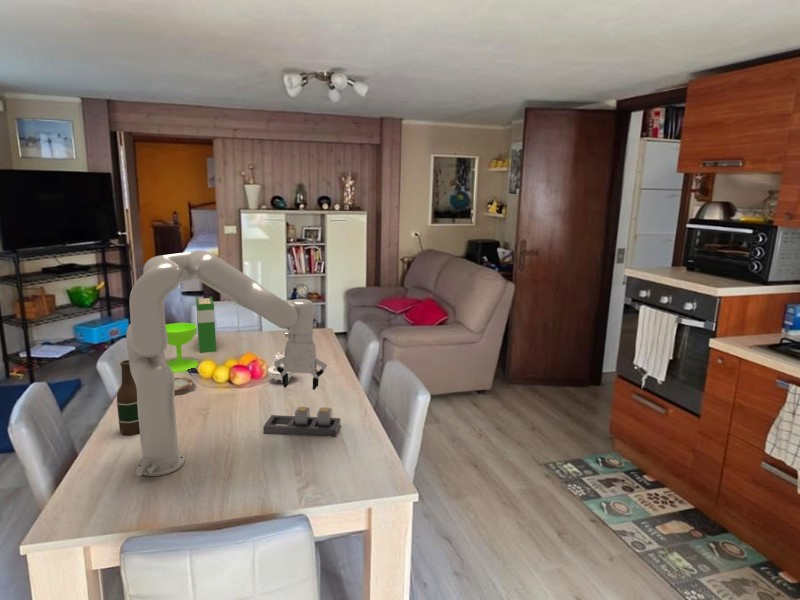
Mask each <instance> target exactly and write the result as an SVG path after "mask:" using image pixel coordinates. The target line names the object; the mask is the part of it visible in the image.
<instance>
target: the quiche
mask: <svg viewBox="0 0 800 600" xmlns="http://www.w3.org/2000/svg"><path fill="white" fill-rule="evenodd" d="M174 379H175V392H174V397H176V396H177V397H178V396H184V395H186V394H189V393H193V392H195V391H196V390H197V388H198V386H197V384H195V382H194V381H193V380H192V379H190V378H188V377H186V376H185V377H174Z"/></svg>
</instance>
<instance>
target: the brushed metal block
mask: <svg viewBox="0 0 800 600" xmlns="http://www.w3.org/2000/svg"><path fill="white" fill-rule="evenodd" d="M310 411H311V408H310V407H308V406H299V407H297V408H296V410H295V412H294V416H295V426H304V427H310V417H311V412H310Z"/></svg>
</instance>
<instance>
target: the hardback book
mask: <svg viewBox="0 0 800 600" xmlns="http://www.w3.org/2000/svg"><path fill="white" fill-rule="evenodd" d="M214 303H215V302H214V300H213V296H209V297H207V298H206V297H205V298H199V297H198V296H197V297H196V296H195V305H196V320H197V322H196V323H197V337H198V347H199V349H198V350H199V354H204V353H216V352H217V341H216V339H217V338H216V336H217V335H216V323H215V304H214Z"/></svg>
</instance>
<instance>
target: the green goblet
mask: <svg viewBox="0 0 800 600" xmlns="http://www.w3.org/2000/svg"><path fill="white" fill-rule="evenodd" d="M166 330H167V336H168V343H167V345H170V346H175V347H176V359H173V360H169V361H166V363H167V364H168V365H169V367H170V368H171V370H172V372H173V374H174V373H184V372H188V371H187V370H188V369H191V368H195V369H197V368H198V367H199V366H198V364H199V365H200V362H198V361H197V360H196V359H189V358H182V346H183V345H186V344H188V343H189V342H190V341H192V340H193V339H194V337H195V336H196V333H197V330H198V325H196V324H195V323H190V322H176V323H175V322H174V323H166ZM197 366H198V367H197ZM196 367H197V368H196Z"/></svg>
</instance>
